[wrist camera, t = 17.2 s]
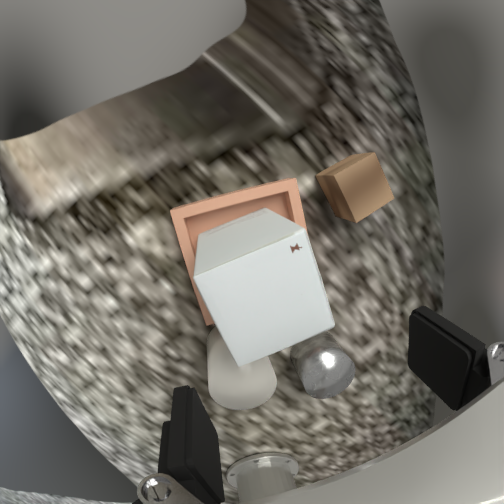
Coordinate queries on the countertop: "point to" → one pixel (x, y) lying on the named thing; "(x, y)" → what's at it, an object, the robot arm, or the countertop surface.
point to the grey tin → (322, 365)
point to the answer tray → (232, 217)
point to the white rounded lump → (237, 377)
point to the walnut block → (355, 186)
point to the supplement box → (261, 284)
